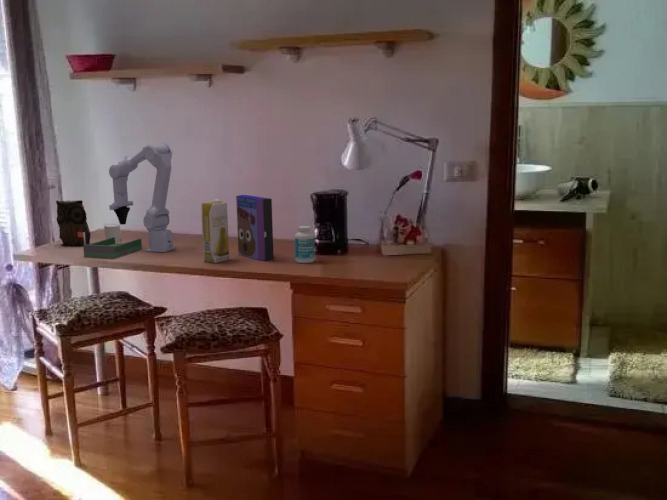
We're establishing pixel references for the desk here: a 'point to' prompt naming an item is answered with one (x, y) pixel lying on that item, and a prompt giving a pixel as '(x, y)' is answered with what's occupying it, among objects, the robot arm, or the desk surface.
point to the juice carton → (215, 231)
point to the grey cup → (112, 232)
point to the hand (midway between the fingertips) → (122, 224)
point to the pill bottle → (304, 245)
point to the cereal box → (255, 227)
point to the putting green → (109, 248)
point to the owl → (72, 223)
